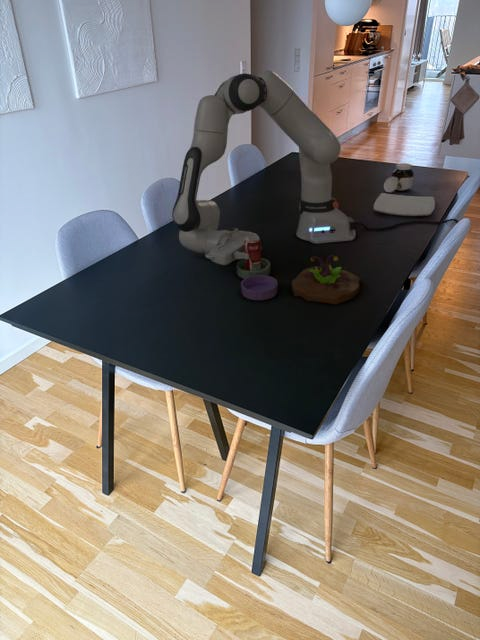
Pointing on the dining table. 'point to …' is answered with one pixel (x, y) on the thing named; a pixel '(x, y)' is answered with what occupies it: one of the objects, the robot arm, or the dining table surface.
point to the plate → (404, 205)
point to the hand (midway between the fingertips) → (255, 252)
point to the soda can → (253, 253)
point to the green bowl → (244, 273)
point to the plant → (326, 283)
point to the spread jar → (400, 179)
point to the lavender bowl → (259, 287)
